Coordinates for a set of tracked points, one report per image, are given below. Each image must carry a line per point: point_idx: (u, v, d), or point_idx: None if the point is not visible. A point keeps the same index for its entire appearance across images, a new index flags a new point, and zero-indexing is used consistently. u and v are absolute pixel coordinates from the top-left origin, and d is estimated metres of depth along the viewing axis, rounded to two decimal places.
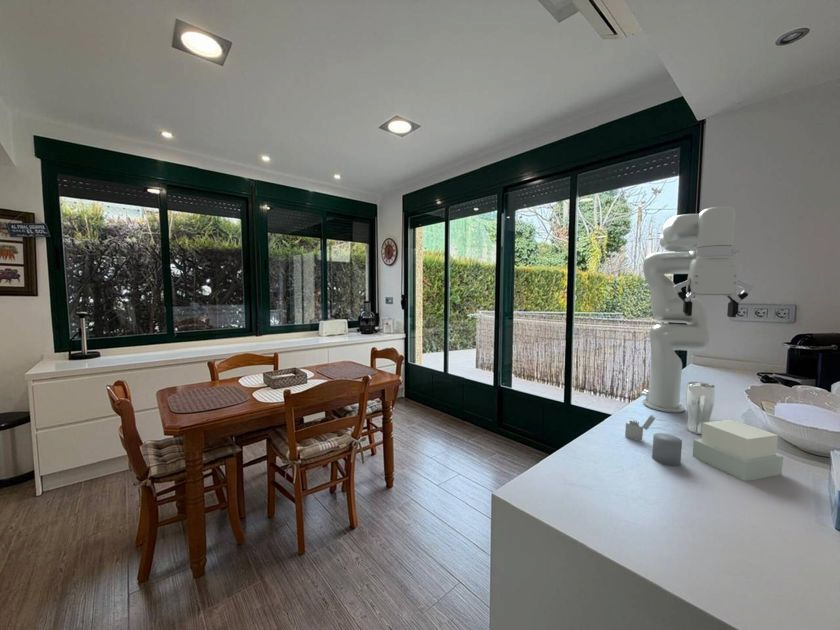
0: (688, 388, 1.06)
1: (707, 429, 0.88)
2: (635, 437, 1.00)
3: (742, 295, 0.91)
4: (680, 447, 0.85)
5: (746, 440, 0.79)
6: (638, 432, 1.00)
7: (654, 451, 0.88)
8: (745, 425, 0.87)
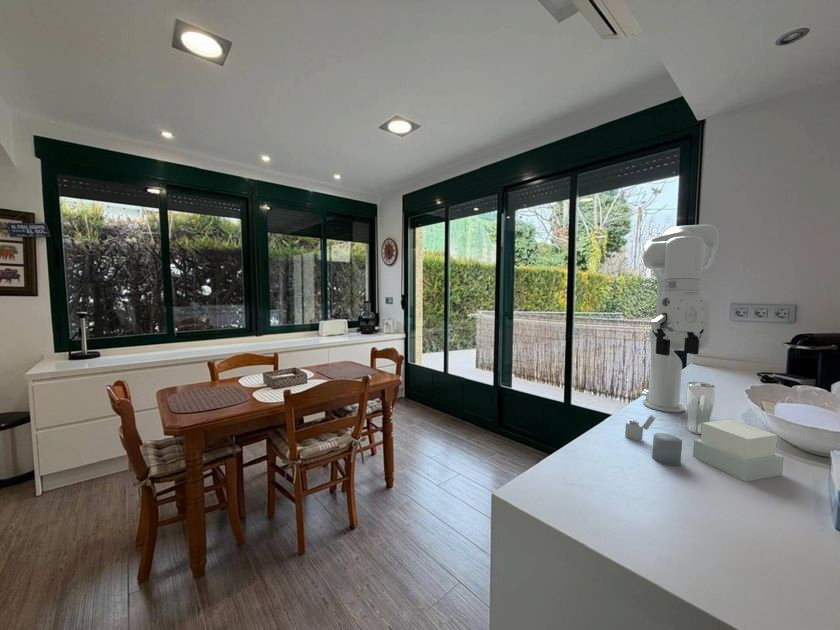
0: (688, 388, 1.06)
1: (707, 429, 0.88)
2: (635, 437, 1.00)
3: None
4: (680, 447, 0.85)
5: (746, 440, 0.79)
6: (638, 432, 1.00)
7: (654, 451, 0.88)
8: (744, 425, 0.87)
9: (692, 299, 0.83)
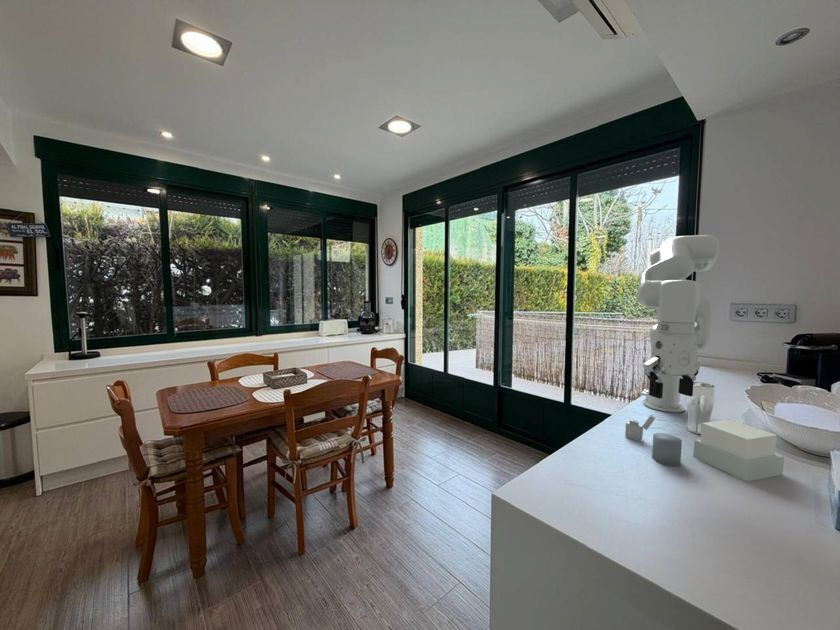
0: None
1: (707, 430, 0.88)
2: (635, 437, 1.00)
3: None
4: (680, 446, 0.85)
5: (746, 440, 0.79)
6: (638, 432, 1.00)
7: (654, 451, 0.88)
8: (743, 425, 0.87)
9: (685, 342, 0.83)
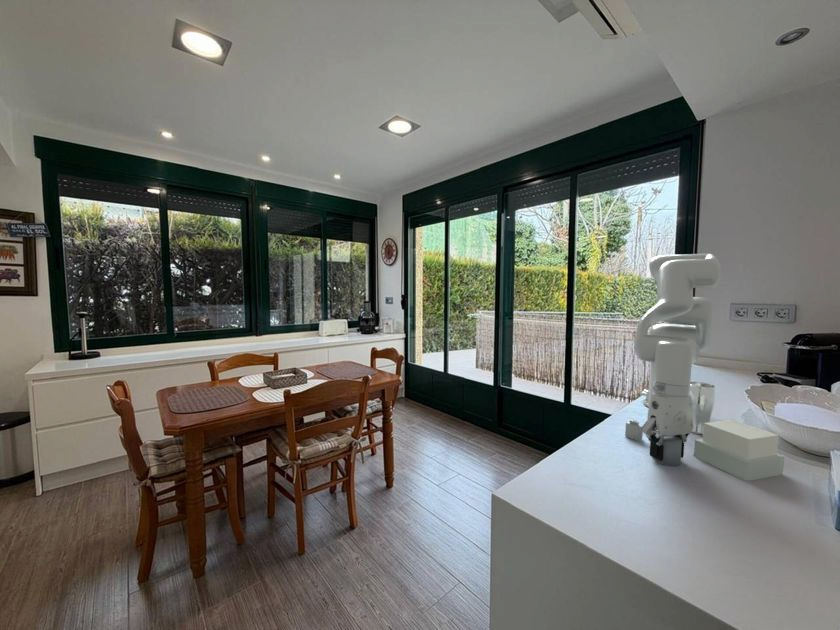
0: None
1: (709, 430, 0.88)
2: (635, 437, 1.00)
3: None
4: (680, 446, 0.85)
5: (748, 440, 0.79)
6: (638, 432, 1.00)
7: None
8: (745, 425, 0.87)
9: (680, 404, 0.84)
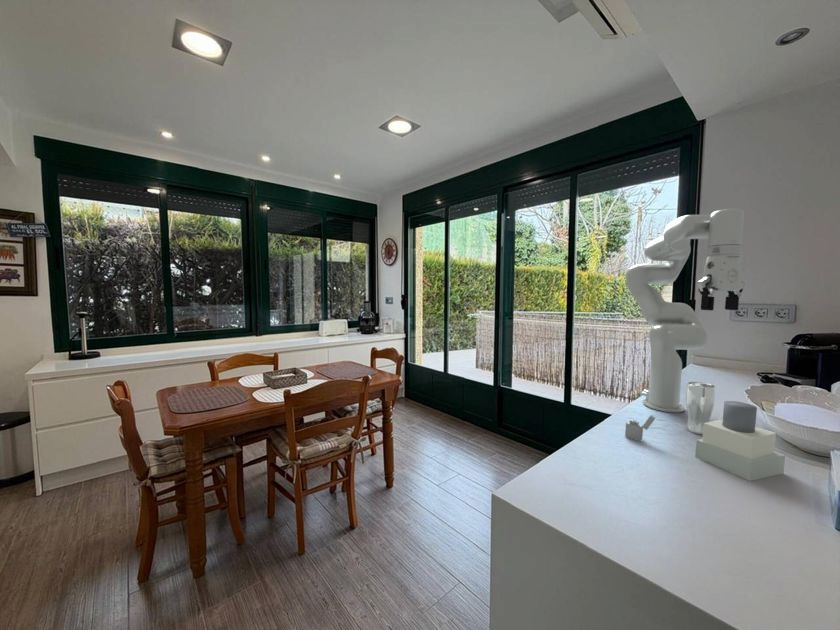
0: (688, 388, 1.06)
1: (709, 430, 0.88)
2: (635, 437, 1.00)
3: None
4: None
5: (751, 440, 0.80)
6: (638, 432, 1.00)
7: (727, 419, 0.86)
8: None
9: (733, 262, 0.98)
